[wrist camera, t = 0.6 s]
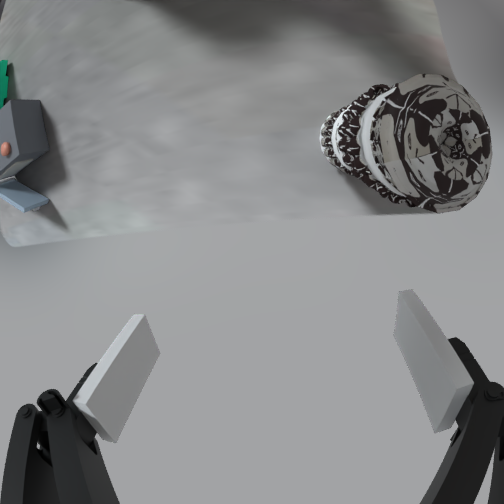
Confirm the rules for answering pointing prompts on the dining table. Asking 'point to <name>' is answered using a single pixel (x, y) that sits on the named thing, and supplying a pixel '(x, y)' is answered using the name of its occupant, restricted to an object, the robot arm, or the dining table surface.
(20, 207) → the side door
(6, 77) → the camera mount
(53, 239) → the dining table surface
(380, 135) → the decorative candle
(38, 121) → the housing
